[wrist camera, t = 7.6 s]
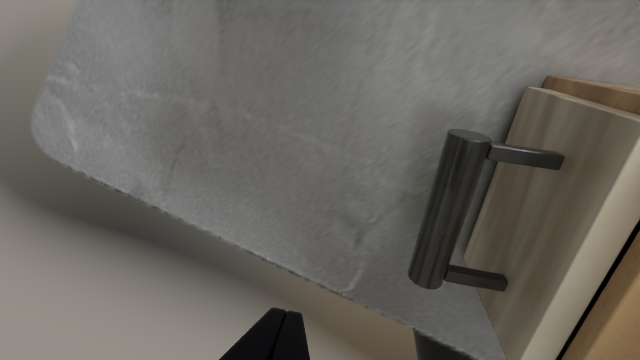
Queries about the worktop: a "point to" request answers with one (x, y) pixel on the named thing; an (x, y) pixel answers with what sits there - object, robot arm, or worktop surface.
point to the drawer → (537, 217)
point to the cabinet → (632, 272)
